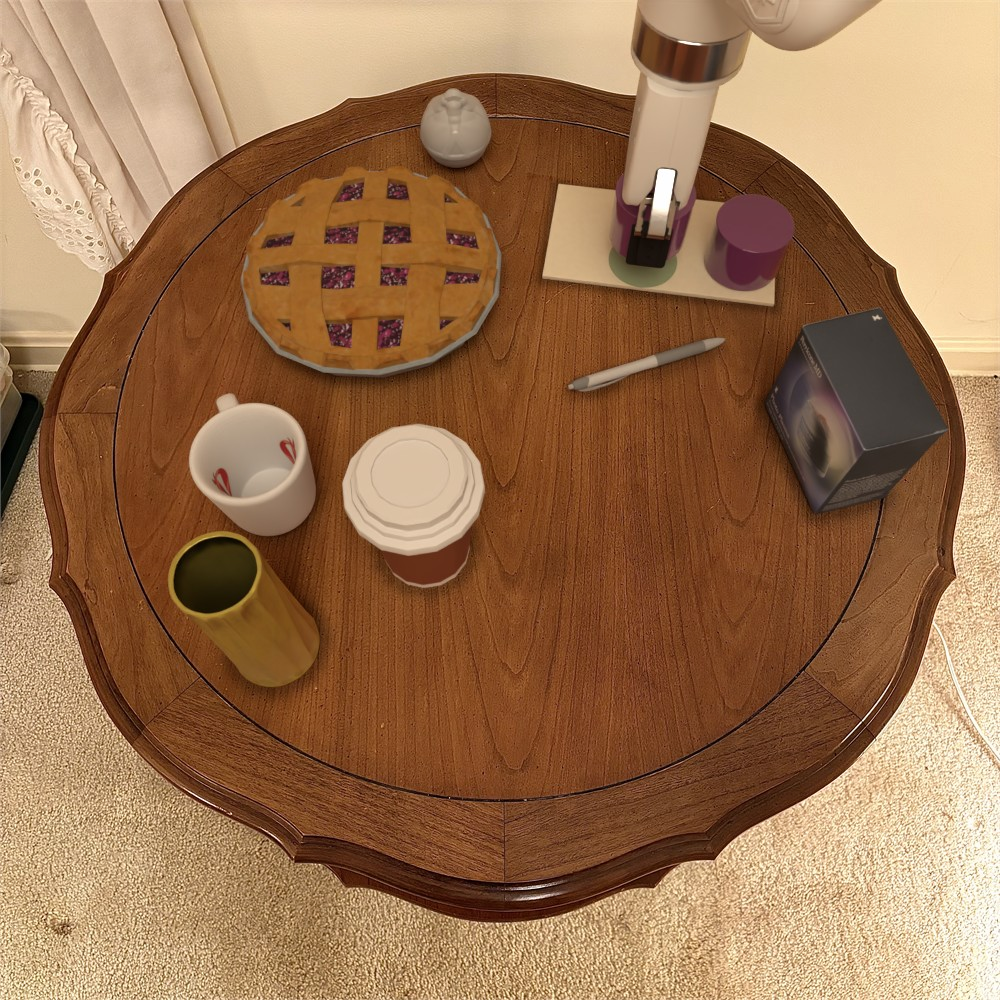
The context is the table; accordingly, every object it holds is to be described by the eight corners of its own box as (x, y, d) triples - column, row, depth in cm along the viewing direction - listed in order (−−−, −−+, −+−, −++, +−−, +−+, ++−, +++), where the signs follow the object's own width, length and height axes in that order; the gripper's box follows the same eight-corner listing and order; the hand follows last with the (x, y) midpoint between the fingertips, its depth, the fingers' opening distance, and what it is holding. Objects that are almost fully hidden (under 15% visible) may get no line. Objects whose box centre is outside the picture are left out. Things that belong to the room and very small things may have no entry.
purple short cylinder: (686, 211, 72) (698, 167, 68) (681, 268, 70) (693, 226, 65) (612, 202, 73) (619, 158, 69) (604, 259, 70) (611, 216, 66)
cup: (197, 453, 66) (159, 398, 59) (292, 413, 68) (266, 355, 61) (244, 567, 62) (209, 523, 55) (343, 522, 64) (323, 472, 57)
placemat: (775, 211, 77) (777, 207, 77) (773, 306, 72) (774, 303, 72) (558, 186, 79) (558, 182, 78) (542, 278, 74) (542, 274, 73)
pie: (487, 186, 79) (486, 142, 74) (517, 382, 69) (518, 345, 65) (251, 208, 78) (235, 165, 73) (249, 410, 68) (230, 374, 64)
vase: (338, 645, 60) (291, 573, 47) (268, 706, 58) (201, 649, 45) (284, 587, 62) (226, 502, 49) (216, 644, 60) (136, 572, 47)
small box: (757, 402, 68) (797, 321, 59) (831, 385, 69) (883, 302, 59) (810, 518, 64) (862, 450, 54) (889, 498, 64) (955, 427, 55)
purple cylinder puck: (778, 239, 75) (795, 198, 71) (777, 295, 72) (794, 257, 68) (706, 230, 75) (718, 189, 71) (702, 286, 73) (714, 247, 68)
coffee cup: (371, 490, 65) (345, 407, 54) (490, 493, 65) (487, 410, 54) (359, 603, 61) (327, 538, 50) (485, 607, 61) (481, 542, 50)
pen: (565, 388, 69) (566, 379, 68) (720, 341, 71) (724, 330, 70) (569, 398, 68) (570, 389, 67) (725, 350, 70) (729, 340, 69)
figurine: (490, 128, 82) (488, 53, 75) (493, 181, 79) (491, 108, 72) (422, 131, 82) (414, 56, 75) (423, 184, 79) (415, 111, 72)
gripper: (645, -55, 59) (614, 152, 75) (620, 118, 51) (592, 307, 67) (753, -45, 58) (699, 161, 74) (745, 132, 51) (686, 318, 67)
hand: (648, 229), depth 71 cm, fingers closed on purple short cylinder, 6 cm apart
